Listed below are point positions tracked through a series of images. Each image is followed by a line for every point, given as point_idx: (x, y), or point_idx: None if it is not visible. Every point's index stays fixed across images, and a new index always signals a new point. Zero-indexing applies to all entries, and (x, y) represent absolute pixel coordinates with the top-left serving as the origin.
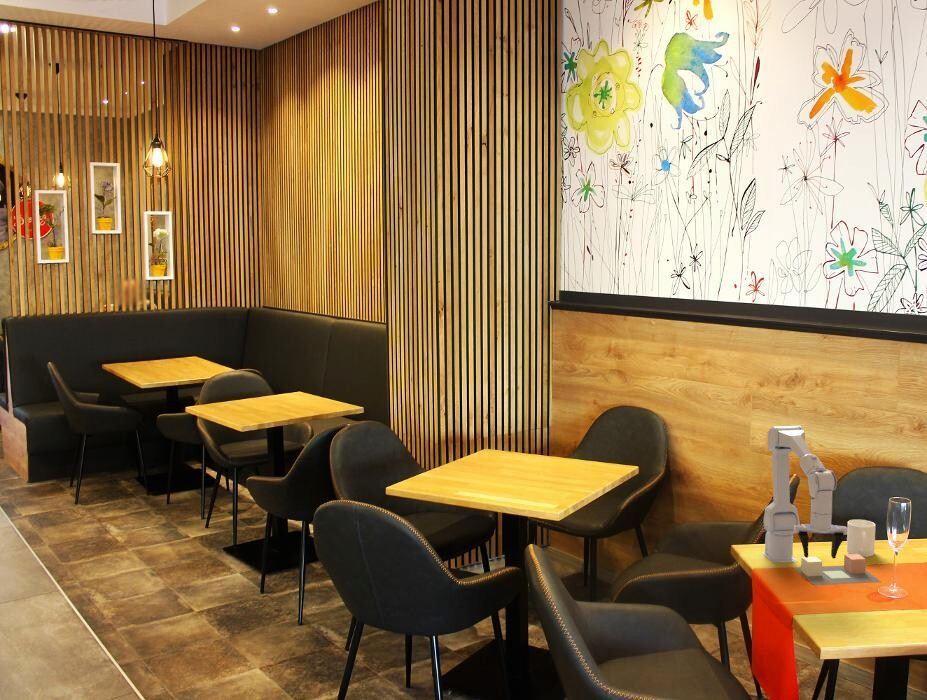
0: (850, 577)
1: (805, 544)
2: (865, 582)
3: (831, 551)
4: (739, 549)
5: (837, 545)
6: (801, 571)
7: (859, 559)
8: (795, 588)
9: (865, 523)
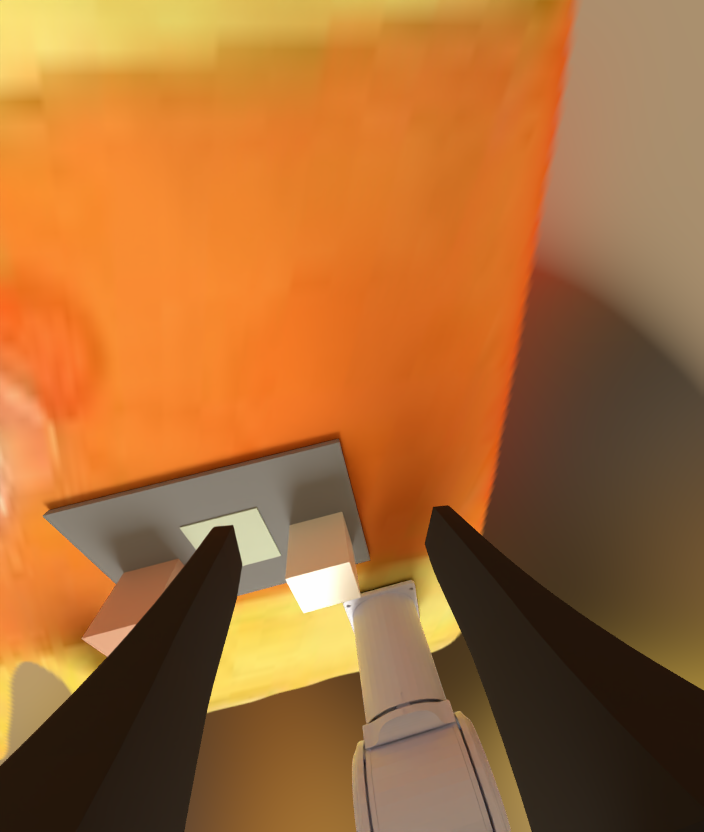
0: (181, 528)
1: (564, 620)
2: (115, 497)
3: (232, 606)
4: (459, 629)
5: (101, 699)
6: (351, 543)
7: (112, 629)
8: (414, 410)
9: None
